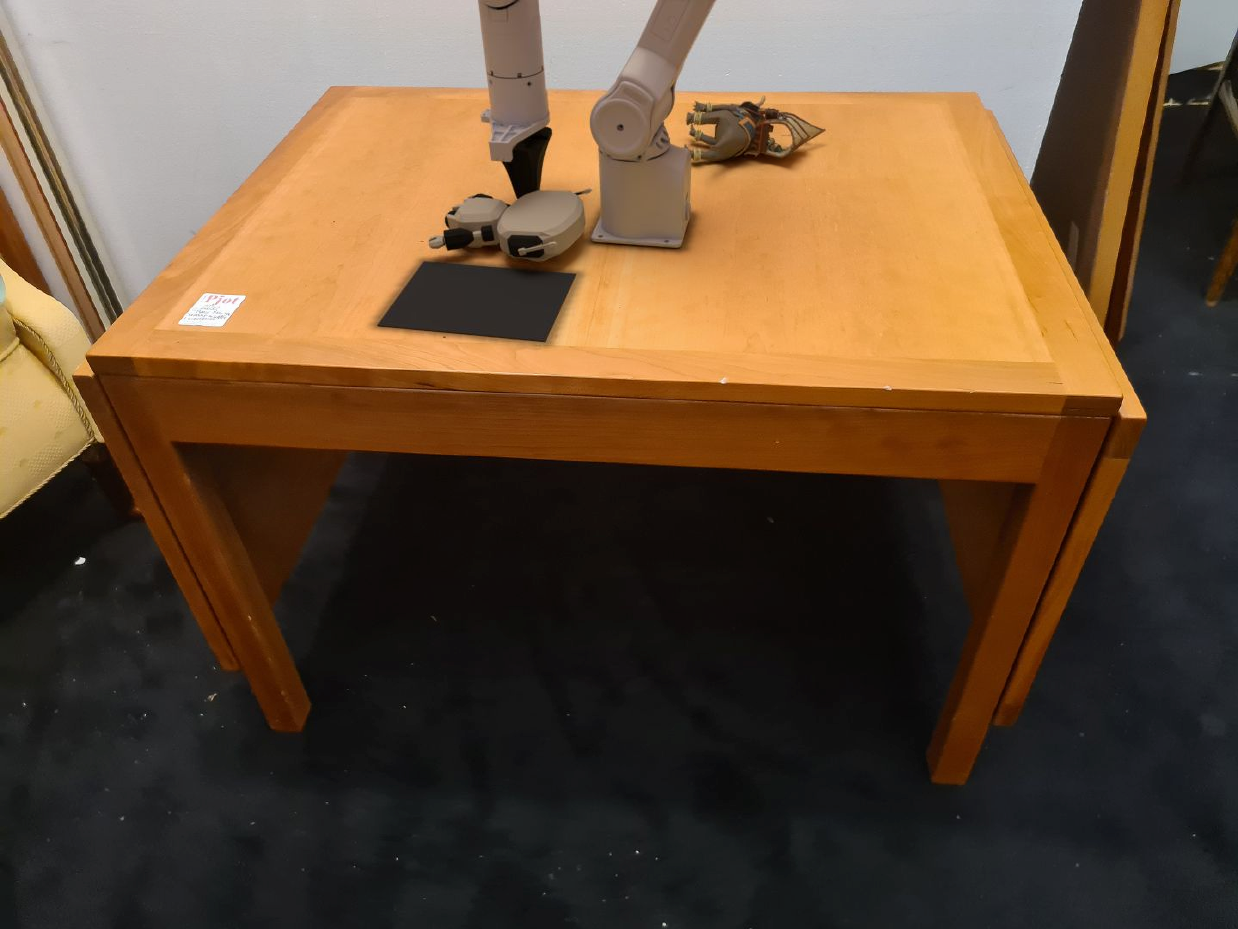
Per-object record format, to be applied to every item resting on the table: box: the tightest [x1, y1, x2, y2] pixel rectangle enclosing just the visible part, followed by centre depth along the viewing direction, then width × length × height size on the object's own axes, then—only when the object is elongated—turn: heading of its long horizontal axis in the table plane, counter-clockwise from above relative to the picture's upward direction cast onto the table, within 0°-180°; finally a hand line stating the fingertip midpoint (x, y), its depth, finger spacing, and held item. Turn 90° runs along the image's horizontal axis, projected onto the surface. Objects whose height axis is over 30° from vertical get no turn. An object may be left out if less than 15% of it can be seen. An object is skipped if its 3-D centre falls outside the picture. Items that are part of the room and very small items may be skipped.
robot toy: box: [428, 188, 593, 263], centre depth 90 cm, size 12×4×15 cm
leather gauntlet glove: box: [683, 95, 826, 163], centre depth 105 cm, size 20×6×17 cm
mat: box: [377, 260, 577, 343], centre depth 83 cm, size 16×12×1 cm
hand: (528, 199), depth 94 cm, fingers closed
